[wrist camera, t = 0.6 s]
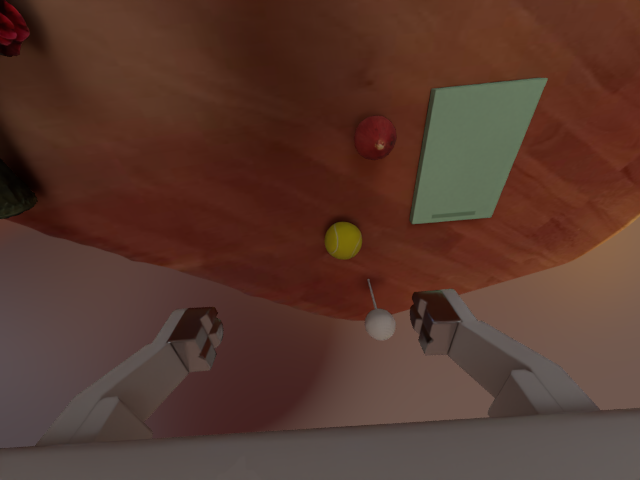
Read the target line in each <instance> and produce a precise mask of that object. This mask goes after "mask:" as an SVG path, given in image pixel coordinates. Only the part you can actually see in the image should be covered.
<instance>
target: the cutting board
mask: <svg viewBox="0 0 640 480" xmlns="http://www.w3.org/2000/svg"><path fill="white" fill-rule="evenodd" d="M547 79H548V78H533V79H523V80H513V81H504V82H494V83H484V84H474V85H464V86H455V87H445V88H435V89H431V95H430V101H429V107H428V112H427V118H426V124H425V130H424V136H423V142H422V148H421V154H420V160H419V166H418V172H417V178H416V184H415V190H414V196H413V202H412V208H411V214H410V222H411V223H412V224H420V223H431V222H443V221H454V220H466V219H478V218H489V217H491V216H492V214H493V211H494V209H495V207H496V204H497V202H498V199H499V197H500V194H501V192H502V189H503V187H504V184H505V182H506V180H507V177H508V175H509V172H510V170H511V167H512V165H513V162H514V160H515V157H516V155H517V153H518V150H519V148H520V145H521V143H522V140H523V138H524V135H525V133H526V130H527V128H528V126H529V123H530V121H531V118H532V116H533V113H534V111H535V108H536V106H537V104H538V101H539V99H540V96H541V94H542V91H543V89H544V86H545V84H546V81H547Z"/></svg>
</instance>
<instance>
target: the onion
mask: <svg viewBox="0 0 640 480" xmlns="http://www.w3.org/2000/svg"><path fill="white" fill-rule="evenodd" d="M354 141H355V148H356V149H357V151H358V153H359V154H360V155H361V156H363V157H364V158H366V159H371V160H377V159H382V158H383V157H385V156H387V155H388V154H389V153H390V151H391V150H392V149H393V147H394V144H395V141H396V129H395V127H394V126H393V124H392V122H391V121H390V120H388V119H387V118H385V117H384V116H375V115H374V116H371V117H367V118H366V119H364V120H363V121H362V122H360V124H359V125H358V127H357V129H356V131H355V136H354Z"/></svg>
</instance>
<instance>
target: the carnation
mask: <svg viewBox="0 0 640 480" xmlns="http://www.w3.org/2000/svg"><path fill="white" fill-rule="evenodd" d="M29 35H30V33H29V29H28V27H27V25H26V23H25V20H24V19H23V17H22V15H21V14H20V13H19V12H18V11H17V10H16V9H15V7H13V6H12V5H11V4H9V3H8V2H7V1H6V0H0V55H3V56H8V57H12V56H17V55H19V54H20V48H21V44H22V42H23V41H24V40H25V39H27V37H28V36H29ZM36 202H38V200H37V197H36V196H35V193H34V192H32V191H31V190H30V188H29V187H28V186H27V185H26V184H25V183H24V182H23V181H22V180H21V179H20V178H19V177H17V176H16V175H15V173H14V172H13V171H12V170H11V169H10V168H9V167H8V166H7V165H6V164H5V163H4V162H3V160H2V159H0V219H5V218H9V217H12V216H16V215H19V214H21V213H23V212H24V211H26V210H29V209H31V208H32V207H34V205H35V204H36Z"/></svg>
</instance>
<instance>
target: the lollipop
mask: <svg viewBox="0 0 640 480" xmlns="http://www.w3.org/2000/svg"><path fill="white" fill-rule="evenodd" d="M367 280H368V284H369V288H370V292H371V296H372V300H373V304H374V308H375V309H374V310H372V311H370V312H369V313H368V315H367V316H366V319H365V328H366V331H367V332H368V334H369V335H370V336H371V337H373V338H374V339H377V340H386V339H388V338H390V337H391V336H392V335H393V333H394V331H395V326H396V323H395V320H394V318H393V316H392V315H391V314H390V313H389V312H388V311H386V310H384V309H377V307H376V303H375V299H374V295H373V291H372V288H371V284H370V280H369V279H367Z"/></svg>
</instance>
